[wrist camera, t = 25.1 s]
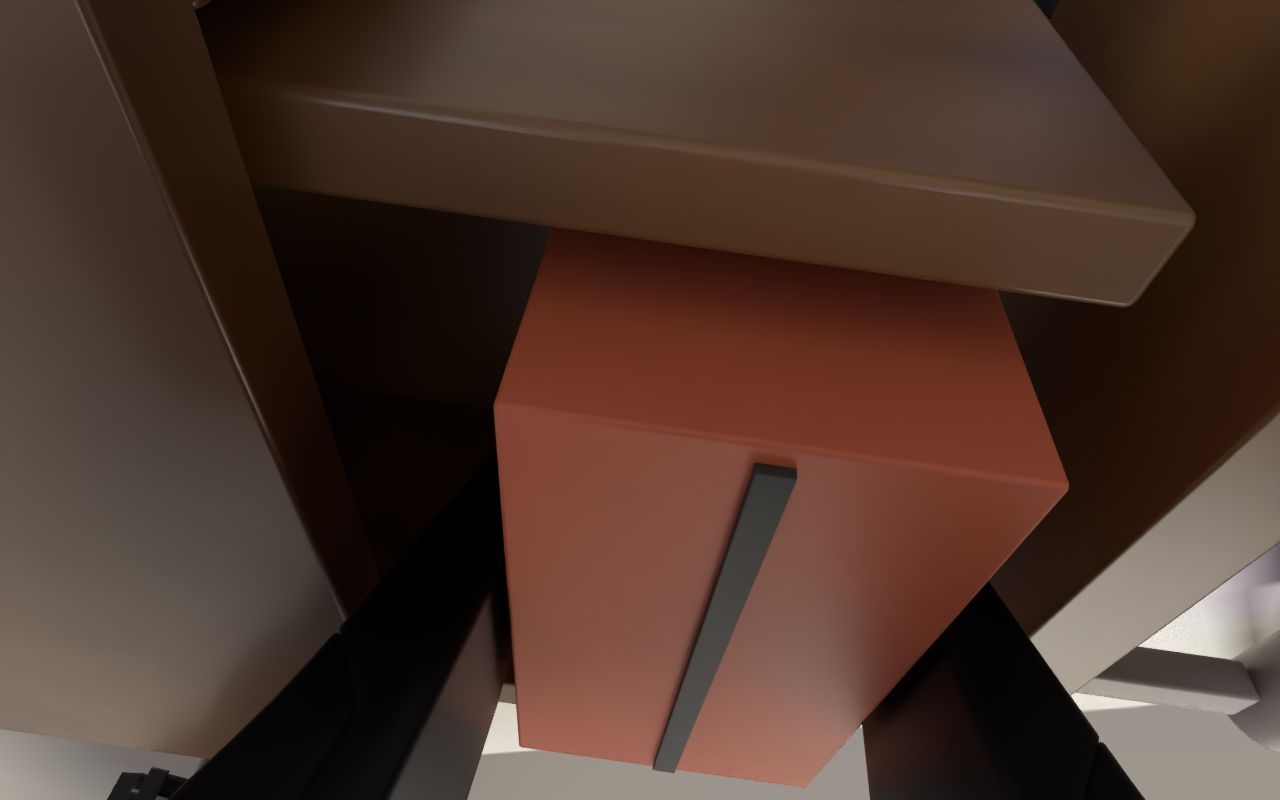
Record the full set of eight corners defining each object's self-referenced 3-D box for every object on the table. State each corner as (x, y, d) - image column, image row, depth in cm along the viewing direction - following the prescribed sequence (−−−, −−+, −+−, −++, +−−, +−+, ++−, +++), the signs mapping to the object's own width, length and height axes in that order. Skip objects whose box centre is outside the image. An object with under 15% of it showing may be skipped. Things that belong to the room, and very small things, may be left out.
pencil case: (795, 561, 13) (806, 797, 10) (564, 527, 13) (516, 755, 10) (968, 202, 7) (1080, 500, 5) (578, 148, 7) (487, 416, 5)
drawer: (1613, -56, 9) (2629, 314, 4) (1088, 502, 17) (1216, 833, 12) (84, -273, 9) (-696, -158, 4) (309, 391, 17) (142, 679, 12)
